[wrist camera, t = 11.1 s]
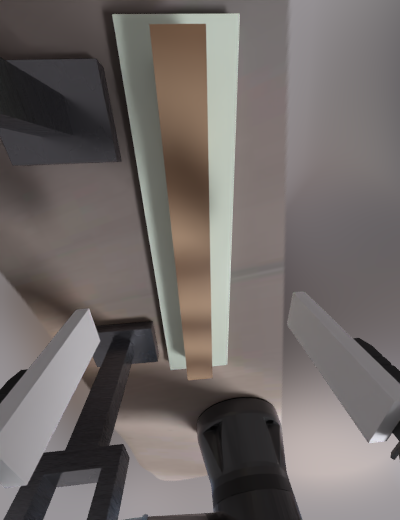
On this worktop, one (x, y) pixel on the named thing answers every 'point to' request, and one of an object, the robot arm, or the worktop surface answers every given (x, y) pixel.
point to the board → (153, 170)
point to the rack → (111, 336)
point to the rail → (187, 178)
